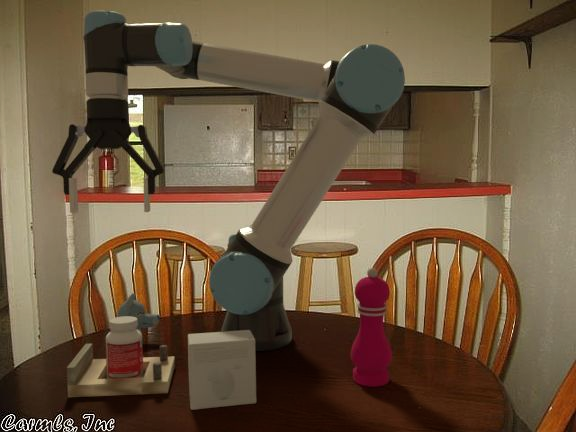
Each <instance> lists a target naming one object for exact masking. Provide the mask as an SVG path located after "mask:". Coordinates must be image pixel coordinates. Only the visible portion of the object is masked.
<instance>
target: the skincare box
mask: <svg viewBox="0 0 576 432" xmlns="http://www.w3.org/2000/svg"><path fill="white" fill-rule="evenodd" d="M187 352H188V353H187V354H188V355H187V357H188V358H187V364H188V392H189V394H188V395H189V405H190V406H189V407H190V409H191V410H192V411H193V410H202V409H211V408H220V407H231V406H233V407H234V406H240V405H253V404H256V403H257V371H256V370H257V369H256V368H257V366H256V363H257V361H256V351H255V338H254V336H253V334H252V333H251V331H250V330H240V331H226V332H221V331H215V332H202V333H201V332H199V333H187Z"/></svg>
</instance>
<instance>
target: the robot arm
mask: <svg viewBox="0 0 576 432" xmlns="http://www.w3.org/2000/svg"><path fill="white" fill-rule="evenodd" d="M83 21H84V24H83V28H84V29H83V38H82V39H83V42H84V44H83V45H84V47H83V48H84V63H85V64H84V65H85V70H84V71H85V95H86V97H88V98H89V99H87V100H86V102H85V103H86V125H85V126H82V125H77V124H70V125H69V126H68V136H67V138H66V139H65V142H64V144H63V147H62V148H61V150H60V153H59V155H58V157H57V159H56V161H55V163H54V165H53V168H52V174H54V175H57V176H60V177H62V179H63V180H62V181H63V182H62V183H63V194H64V195H65V196H67V195H69V196H68V197H69V213H70V214H74V213H78V212H79V203H78V202H79V201H78V200H79V199H78V197H79V195H78V178H77V177H74V175H75V173H76V172H77V171H78V170H79V168H81V166H82V165H83V164H84V162H85V161H86V160H87V159H88V158H89V157H90V155H91V154H92V153H93V152H94V151H95V150H96V149H97V148H98V149H99V150H107V149H112V150H118V149H121V148H122V149H123V150H124V151H125V153H127V154H128V155H129V157H131V159H132V160H133V161H134V162H135V163H136V165H138V167H139V168H140V169H141V170H142V172H144V173H145V174H146V176H147V177H143V208H144V209H143V212H144V213H149V212H151V195H154V194H156V177H158V176H159V175H162V174H164V173H165V172H166V170H165V168H164V166H163V163H162V162H161V160H160V158H159V156H158V154H157V152H156V151H155V149H154V147H153V145H152V142H151V141H150V139H149V137H148V131H147V126H145V125H143V124H139V125H136V126H131V124H130V117H129V115H130V113H129V110H130V109H129V102H128V100H126V99H127V98H128V97H129V82H128V81H129V75H128V74H129V73H128V68H129V67H155V68H157V69H160V70H161V71H164V72H165V73H166V74H168V75H170V76H171V77H173V78H176V79H180V80H188V79H190V80H196V81H202V82H206V83H207V82H208V83H214V84H219V85H224V86H229V87H230V86H231V87H236V88H241V89H247V90H251V91H258V92H263V93H268V94H272V95H273V94H274V95H279V96H284V97H290V98H294V99H300V100H306V101H310V102H311V101H312V102H317V103H318V105H319V110H320V111H319V112H320V113H319V116H318V118H317V120H316V121H315V123H314V124H313V126H312V127H311V129H310V131H309V132H308V134H307V135H306V137H305V139H304V141H302V143H301V145H300V147H299V148H298V150H297V151H296V153H295V154H294V156H293V158H292V160H291V161H290V163H289V164H288V166H287V168H286V169H285V171H284V173H283V174H282V175H281V177H280V179H279V180H278V181H277V184H276V185H275V187H273V188H274V189H273V190H272V192H271V193H270V195H269V197H268V198H267V200H266V201H265V202H264V205H263V206H262V208H261V209H260V211H259V212H258V214H257V216H256V217H255V219H254V220H253V222H252V224H250V225H247V226H244V227H240V228H239V229H238V231H237V232H236V234H235V233H233V234H231V235H229V237H228V241H227V248H226V250H225V252H224V253H223V255H222V256H221V257H219V258H218V259H217V260H215V262H214V264H213V265H212V268H211V271H210V273H209V279H208V280H209V281H208V284H209V289H210V293H211V295H212V297H213V299H214V300H215V301H214V302H216V304H217V305H219V307H221V308H223V310H225V311H226V314H225V317H224V321H223V324H222V327H221V331H220V332H226V331H240V330H250V331H251V333H252V334H253V336H254V338H255V352H264V351H271V350H277V349H281V348H284V347H286V346H288V345H289V344H290V343H291V342H292V340H293V339H292V337H293V336H292V327H291V323H290V321H289V319H288V315H287V312H286V309H285V305H284V304H285V303H284V276H285V274H286V273H287V271H288V269H289V268H290V266H291V265H292V263H293V260H294V259H293V256H292V252H291V251H292V250H291V249H292V248H293V246H294V245H295V243H296V242H297V240H298V238H299V237H300V235H301V234H302V233H303V231H304V229H305V228H306V226H307V225H308V223H309V221H311V218H312V217H313V215H314V214H315V212H316V210H317V209H318V207H319V206H320V204H321V202H322V201H323V200H324V198H325V196H326V195H327V193H328V192H329V190H330V188H331V187H332V186H333V184H334V183H335V181H336V180H337V178H338V176H339V174H340V173H341V171H342V170H343V168H345V165H346V164H347V162H348V160H349V159H350V157H351V156H352V154H353V152H354V151H355V149H356V148H357V147H358V145H359V143H360V142H361V141H362V140H363V139H367V138H372V137H373V136H374V135H375V134H376V132H377V131H378V130H379V128H380V126H381V124H382V123H383V122H384V120H385V118H386V117H387V115H388V114H389V112H390V111H391V109H392V108H393V106H394V105H395V104H396V103H397V102H398V101H399V100H400V98H401V97H402V95H403V92H404V89H405V85H406V82H405V81H406V78H405V76H406V75H405V70H404V66H403V64H402V62H401V60H400V59H399V57H398V56H397V54H395V53H394V52H393V51H392V50H390V49H389V48H387V47H385V46H384V45H379V44H373V43H372V44H371V43H367V44H362V45H358V46H357V47H354V48H352V49H351V50H350V51H348V52H347V53H345V54H344V55H343V57H341V60H340V61H339V60H334V59H330V61H328V62H326V63H319V62H314V61H308V60H302V59H299V58H298V59H297V58H292V57H291V58H290V57H285V56H280V55H274V54H268V53H265V52H264V53H262V52H257V51H251V50H246V49H240V48H234V47H228V46H223V45H218V44H210V43H205V42H204V43H203V42H201V41H195V40H193V38H192V34H191V32H190V29H189V27H188V25H186V24H184V23H177V22H170V21H166V22H161V23H159V22H156V23H127V18H126V17H125V15H124V14H122V13H119V12H117V11H111V10H109V11H108V10H103V9H102V10H93V11H89V12H88V13H86V14H85V16H84V20H83ZM84 133H85V134H86V136H87V137H88V139H89V140H88V141H87V142H86V143H85V145H84V146H83V148H82V149H81V150H80V152H79V153H78V154H77V155H76V156H75V158H73V160H72V161H71V163H69V165H68V166H67V167H66V165H67V163H68V161H69V160H70V157H71V155H72V153H73V151H74V149H75V147H76V144H77V142H78V140H79V138H81V137H82V136H83V134H84ZM132 134H134V136H135V137H136V138H139V140H140V142H141V144H142V147H143V148H144V149H145V152H146V154H147V156H148V157H149V159H150V161H151V163H152V165H153V167H154V169H153V168H152V167H151V166H150V165H149V164H148V163H147V161H145V160H144V158H143V157H142V156H141V155H140V154H139V152H138V151H137V150H136V149H135V148H134V146H133V145H132V144H131V143H130V142H129V141H128V139H129V138H130V136H131V135H132ZM65 167H66V168H65Z"/></svg>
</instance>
